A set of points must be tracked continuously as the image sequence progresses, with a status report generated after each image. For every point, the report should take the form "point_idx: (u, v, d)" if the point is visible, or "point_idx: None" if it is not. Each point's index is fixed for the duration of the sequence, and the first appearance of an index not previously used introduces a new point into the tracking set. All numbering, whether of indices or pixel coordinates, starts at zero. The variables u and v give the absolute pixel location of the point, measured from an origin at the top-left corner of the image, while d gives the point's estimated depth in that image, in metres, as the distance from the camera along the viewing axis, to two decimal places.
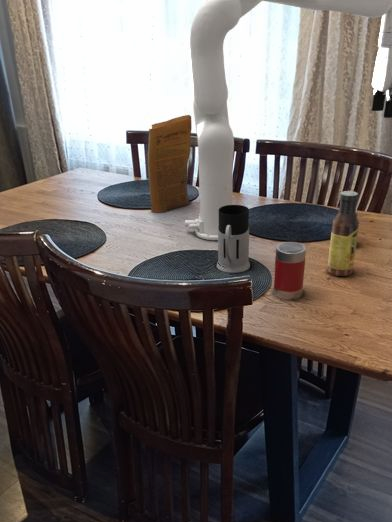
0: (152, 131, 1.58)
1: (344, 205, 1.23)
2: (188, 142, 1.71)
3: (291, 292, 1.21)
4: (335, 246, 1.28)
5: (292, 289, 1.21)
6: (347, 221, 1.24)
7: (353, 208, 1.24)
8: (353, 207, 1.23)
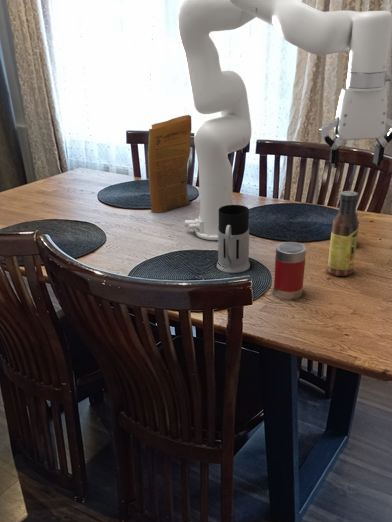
0: (152, 131, 1.58)
1: (344, 205, 1.23)
2: (188, 142, 1.71)
3: (291, 292, 1.21)
4: (335, 246, 1.28)
5: (292, 289, 1.21)
6: (347, 221, 1.24)
7: (353, 208, 1.24)
8: (353, 207, 1.23)
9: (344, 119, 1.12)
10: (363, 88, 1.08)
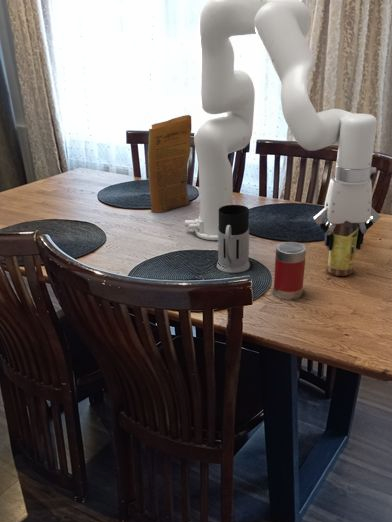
0: (152, 131, 1.58)
1: None
2: (188, 142, 1.71)
3: (291, 292, 1.21)
4: (335, 246, 1.28)
5: (292, 289, 1.21)
6: (347, 221, 1.24)
7: None
8: None
9: (332, 207, 1.22)
10: (350, 182, 1.18)
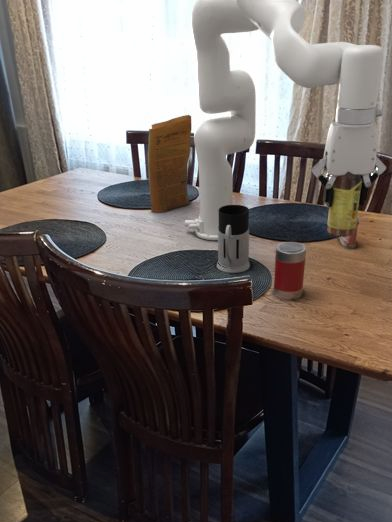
0: (152, 131, 1.58)
1: None
2: (188, 142, 1.71)
3: (291, 292, 1.21)
4: (336, 202, 1.14)
5: (292, 289, 1.21)
6: (349, 172, 1.10)
7: None
8: None
9: (333, 155, 1.08)
10: (352, 124, 1.03)
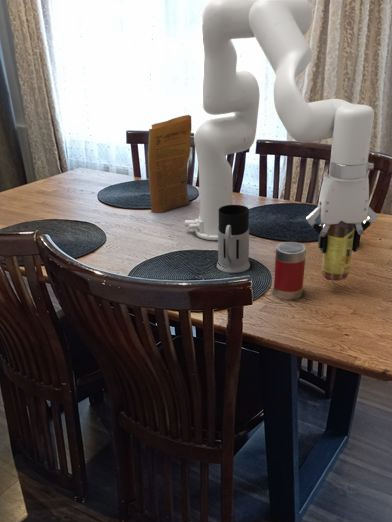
0: (152, 131, 1.58)
1: None
2: (188, 142, 1.71)
3: (291, 292, 1.21)
4: (330, 248, 1.18)
5: (292, 289, 1.21)
6: (342, 221, 1.15)
7: None
8: None
9: (326, 206, 1.13)
10: (345, 179, 1.08)
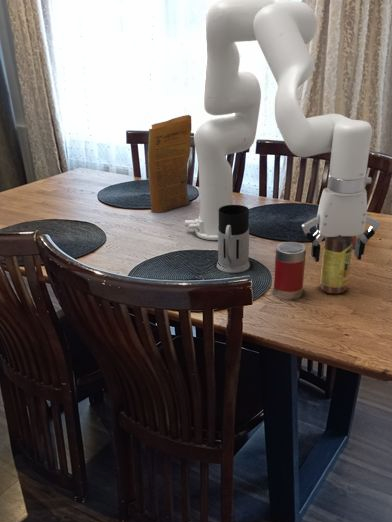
0: (152, 131, 1.58)
1: None
2: (188, 142, 1.71)
3: (291, 292, 1.21)
4: (328, 262, 1.20)
5: (292, 289, 1.21)
6: (340, 236, 1.17)
7: None
8: None
9: (325, 219, 1.14)
10: (343, 193, 1.10)
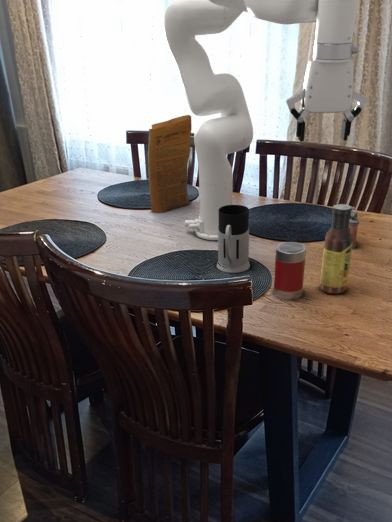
0: (152, 131, 1.58)
1: (337, 219, 1.16)
2: (188, 142, 1.71)
3: (291, 292, 1.21)
4: (328, 262, 1.20)
5: (292, 289, 1.21)
6: (340, 236, 1.17)
7: (346, 222, 1.16)
8: (346, 221, 1.16)
9: (310, 91, 1.11)
10: (328, 59, 1.07)
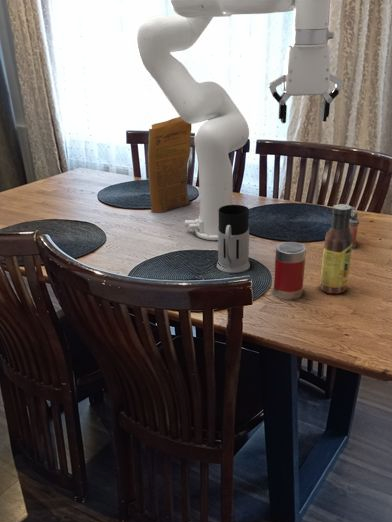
0: (152, 131, 1.58)
1: (337, 219, 1.16)
2: (188, 142, 1.71)
3: (291, 292, 1.21)
4: (328, 262, 1.20)
5: (292, 289, 1.21)
6: (340, 236, 1.17)
7: (346, 222, 1.16)
8: (346, 221, 1.16)
9: (290, 75, 1.19)
10: (306, 44, 1.15)
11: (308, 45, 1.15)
